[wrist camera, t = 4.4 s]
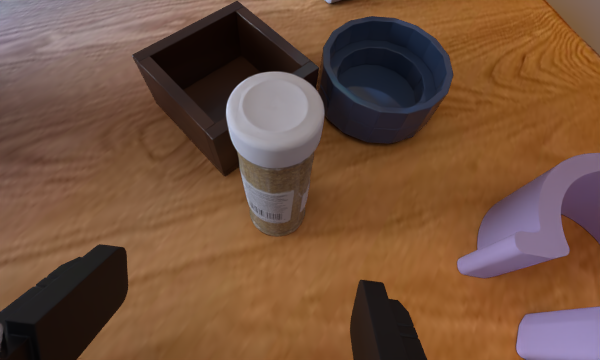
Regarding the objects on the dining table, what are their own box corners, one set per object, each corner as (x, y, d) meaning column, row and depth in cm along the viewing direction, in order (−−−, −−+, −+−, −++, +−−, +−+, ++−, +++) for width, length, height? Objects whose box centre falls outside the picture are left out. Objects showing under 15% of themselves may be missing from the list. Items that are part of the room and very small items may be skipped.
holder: (156, 102, 31) (131, 54, 25) (243, 51, 34) (237, 0, 29) (224, 177, 28) (212, 139, 22) (312, 112, 31) (319, 67, 26)
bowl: (293, 94, 32) (296, 54, 28) (367, 42, 36) (380, 0, 31) (379, 168, 29) (397, 137, 24) (450, 104, 33) (477, 66, 28)
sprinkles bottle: (315, 209, 27) (346, 103, 15) (278, 250, 25) (279, 167, 13) (274, 175, 28) (272, 52, 16) (236, 212, 26) (202, 106, 14)
